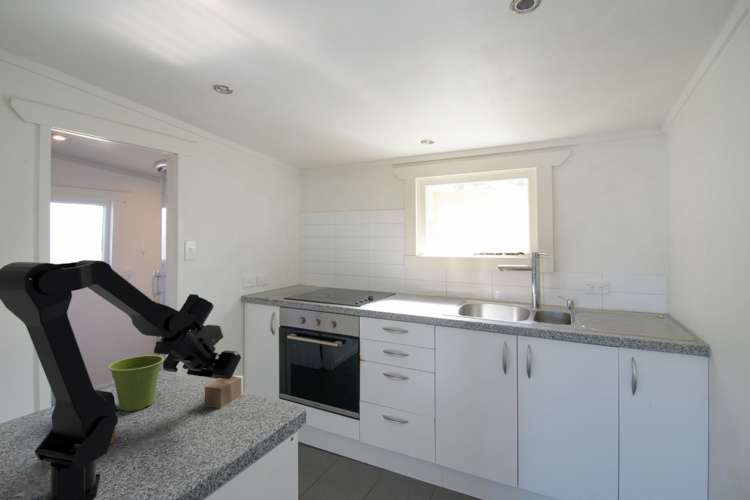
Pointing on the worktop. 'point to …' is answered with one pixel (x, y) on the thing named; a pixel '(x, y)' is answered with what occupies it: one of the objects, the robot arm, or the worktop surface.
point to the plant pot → (136, 381)
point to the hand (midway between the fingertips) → (218, 376)
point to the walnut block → (223, 391)
